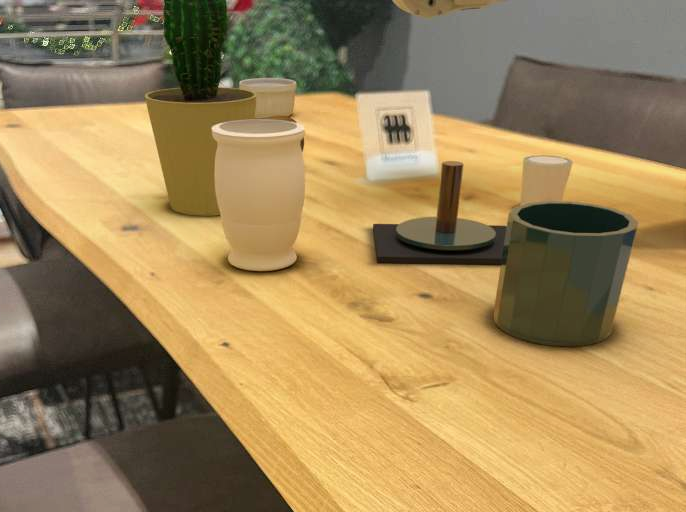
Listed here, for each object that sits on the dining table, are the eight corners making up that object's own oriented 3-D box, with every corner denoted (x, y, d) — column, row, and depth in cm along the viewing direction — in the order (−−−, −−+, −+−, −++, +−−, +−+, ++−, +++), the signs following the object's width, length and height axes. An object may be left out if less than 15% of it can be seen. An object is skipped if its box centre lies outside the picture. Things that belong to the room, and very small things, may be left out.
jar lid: (486, 226, 103) (496, 153, 97) (502, 256, 93) (514, 175, 87) (392, 225, 103) (397, 151, 98) (398, 254, 93) (404, 174, 87)
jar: (285, 280, 87) (283, 138, 79) (204, 269, 90) (194, 131, 82) (317, 253, 96) (318, 121, 87) (241, 243, 98) (236, 115, 90)
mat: (505, 231, 104) (506, 225, 103) (525, 265, 92) (526, 258, 92) (372, 229, 104) (373, 223, 104) (377, 263, 93) (377, 256, 92)
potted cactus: (203, 226, 105) (183, -42, 87) (135, 205, 113) (104, -42, 96) (282, 205, 114) (278, -41, 96) (213, 187, 122) (198, -42, 105)
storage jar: (593, 303, 82) (616, 202, 76) (626, 347, 73) (655, 236, 67) (485, 301, 83) (500, 200, 76) (504, 345, 73) (523, 234, 67)
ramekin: (275, 122, 171) (274, 87, 167) (228, 116, 177) (226, 82, 173) (307, 114, 180) (307, 80, 176) (262, 108, 186) (261, 76, 182)
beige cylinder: (561, 218, 109) (571, 166, 105) (512, 214, 111) (521, 162, 107) (564, 206, 114) (574, 156, 110) (518, 202, 116) (526, 152, 112)
